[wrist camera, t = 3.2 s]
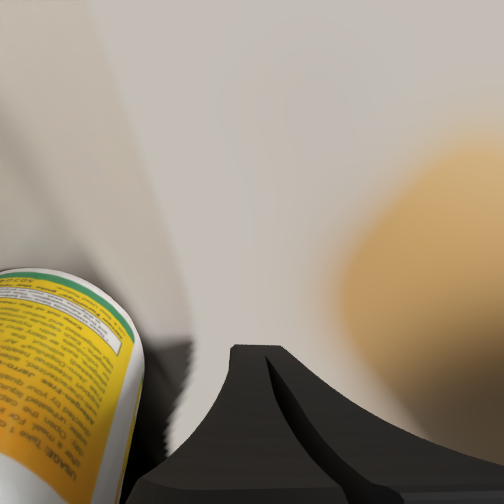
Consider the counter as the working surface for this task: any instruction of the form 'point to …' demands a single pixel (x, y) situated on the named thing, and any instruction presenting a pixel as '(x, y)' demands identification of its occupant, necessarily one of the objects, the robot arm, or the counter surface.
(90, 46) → the counter surface
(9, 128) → the counter surface
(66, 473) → the supplement bottle
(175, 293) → the counter surface
